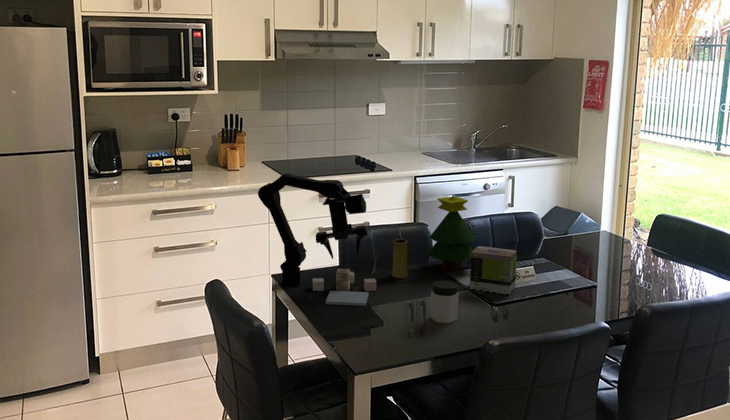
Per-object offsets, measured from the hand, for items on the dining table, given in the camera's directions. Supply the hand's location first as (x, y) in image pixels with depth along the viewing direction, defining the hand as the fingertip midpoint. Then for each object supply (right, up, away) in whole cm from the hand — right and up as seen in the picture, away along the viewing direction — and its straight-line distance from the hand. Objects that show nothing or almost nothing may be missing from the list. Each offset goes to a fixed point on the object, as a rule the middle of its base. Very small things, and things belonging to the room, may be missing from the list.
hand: (345, 256), depth 270 cm
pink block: (+9, -12, +3) cm, 16 cm away
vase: (+21, -9, +17) cm, 28 cm away
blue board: (+1, -15, -8) cm, 17 cm away
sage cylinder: (+1, -10, +10) cm, 15 cm away
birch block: (-1, -12, +3) cm, 12 cm away
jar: (+33, -19, -25) cm, 46 cm away
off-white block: (-10, -12, +3) cm, 16 cm away
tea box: (+55, -12, +4) cm, 56 cm away
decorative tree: (+42, -7, +27) cm, 50 cm away
